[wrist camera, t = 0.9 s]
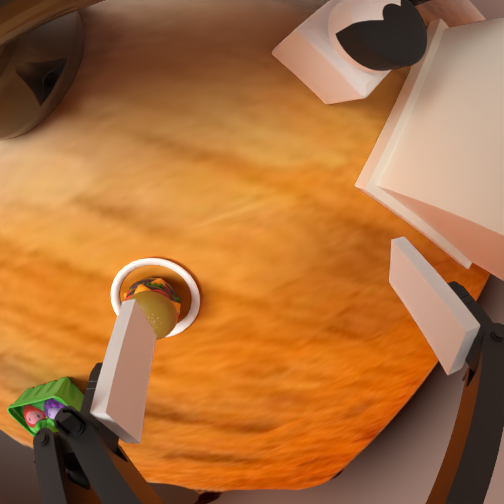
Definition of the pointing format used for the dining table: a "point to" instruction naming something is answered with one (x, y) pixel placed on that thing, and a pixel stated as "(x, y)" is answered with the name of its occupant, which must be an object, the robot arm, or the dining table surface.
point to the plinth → (448, 145)
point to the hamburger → (157, 298)
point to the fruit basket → (45, 404)
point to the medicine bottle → (353, 46)
